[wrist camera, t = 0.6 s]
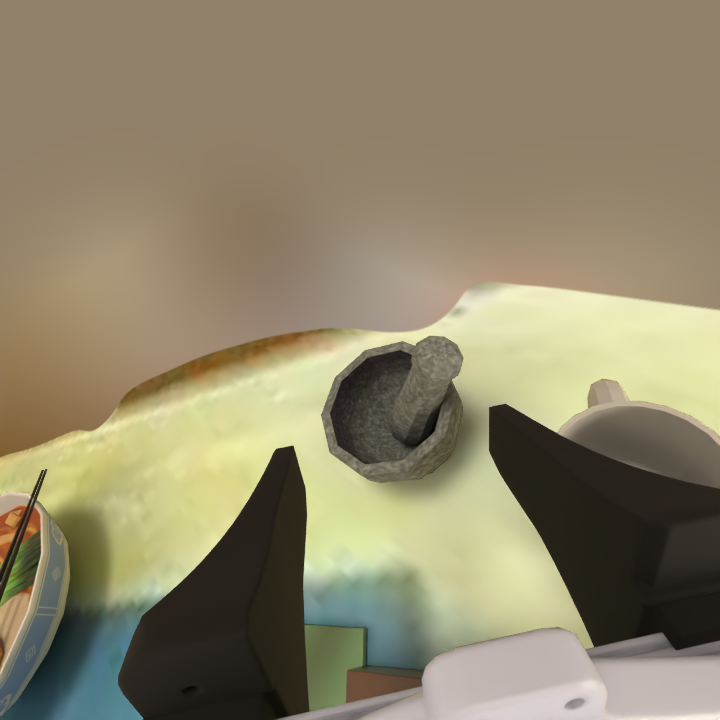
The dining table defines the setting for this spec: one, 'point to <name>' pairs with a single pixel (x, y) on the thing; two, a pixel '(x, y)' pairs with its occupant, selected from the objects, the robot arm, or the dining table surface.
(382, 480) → the mortar and pestle
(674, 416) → the cup
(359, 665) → the spatula
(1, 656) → the ramen bowl
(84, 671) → the dining table surface
